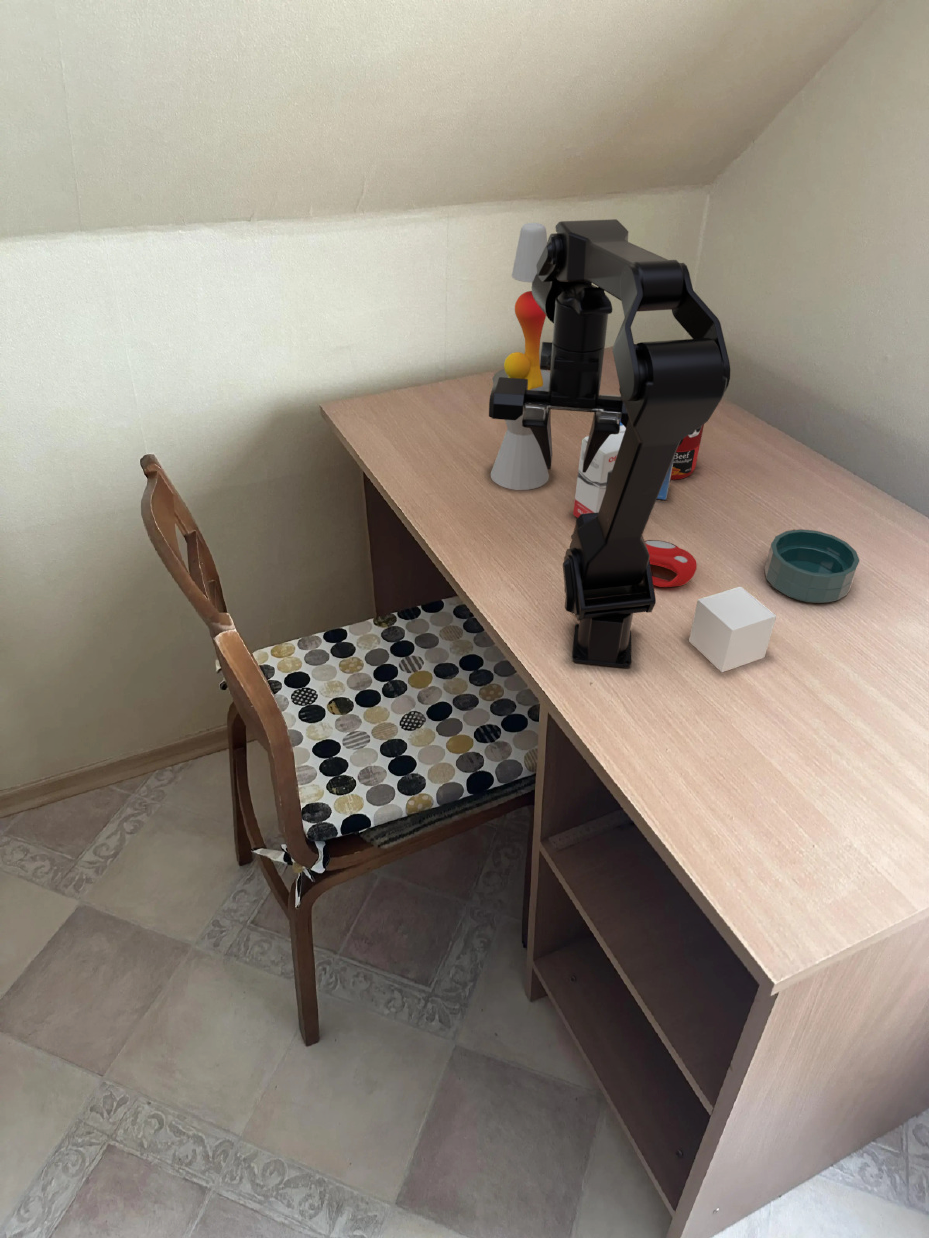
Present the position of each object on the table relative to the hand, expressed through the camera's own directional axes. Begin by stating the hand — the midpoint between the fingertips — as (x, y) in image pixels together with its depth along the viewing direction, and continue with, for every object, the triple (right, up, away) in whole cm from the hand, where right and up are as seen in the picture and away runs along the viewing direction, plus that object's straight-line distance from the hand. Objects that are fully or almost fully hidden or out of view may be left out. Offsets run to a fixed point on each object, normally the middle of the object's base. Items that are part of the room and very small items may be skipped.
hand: (566, 469), depth 107 cm
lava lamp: (-4, +3, +25) cm, 26 cm away
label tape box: (+12, 0, +22) cm, 25 cm away
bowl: (+31, -13, +5) cm, 34 cm away
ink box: (+8, -4, +17) cm, 19 cm away
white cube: (+17, -22, -6) cm, 28 cm away
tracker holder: (+11, -11, +7) cm, 17 cm away
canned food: (+19, +5, +28) cm, 34 cm away
